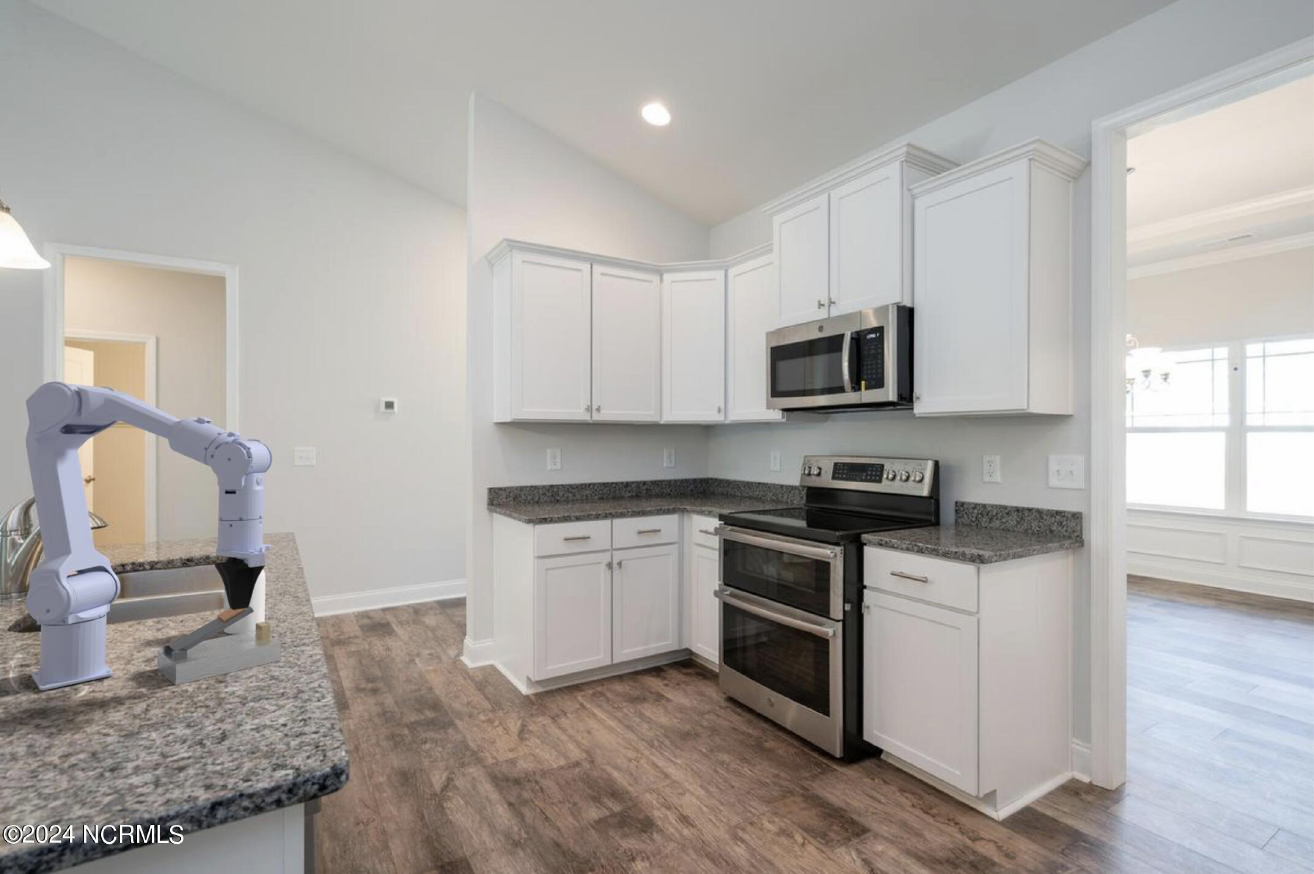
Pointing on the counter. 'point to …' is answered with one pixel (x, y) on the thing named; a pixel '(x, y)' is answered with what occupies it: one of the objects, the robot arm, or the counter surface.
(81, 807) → the counter surface
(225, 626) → the grey slab
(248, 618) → the can
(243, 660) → the base block
